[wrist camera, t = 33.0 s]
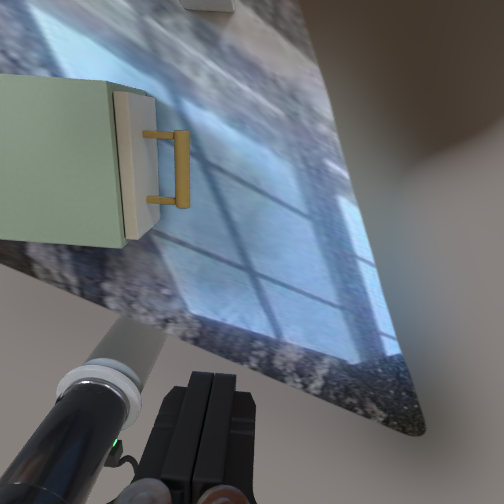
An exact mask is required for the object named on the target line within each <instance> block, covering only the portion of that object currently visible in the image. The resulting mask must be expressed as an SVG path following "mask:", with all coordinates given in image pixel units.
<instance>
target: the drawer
mask: <svg viewBox="0 0 504 504" xmlns="http://www.w3.org/2000/svg"><path fill="white" fill-rule="evenodd" d="M113 98H114V102H113V113H114V124H115V135H116V147H117V158H118V170H119V181H120V193H121V204H122V216H123V222H124V226H125V237H126V239H131V240H139V239H140V238H141V237H142V236H143V235H144V234H145V233H146V232H147V231H148V230H150V229H151V228H152V227H153V226H154V225H155V224H156V223H157V222H158V221H159V220H160V204H168V205H175V204H176V207H177V208H181V209H185V208H189V207H190V132H189V131H182V130H174V132H160V131H157V129H156V105H155V98H153V97H148V96H144V95H139V94H134V93H130V92H121V91H113ZM157 139H170V140H174V159H175V198H172V197H159V176H158V152H157Z"/></svg>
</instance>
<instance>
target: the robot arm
mask: <svg viewBox="0 0 504 504" xmlns="http://www.w3.org/2000/svg"><path fill="white" fill-rule="evenodd" d="M235 390H236V375H235V374H223V373H215V376H214V373H210V372H197V371H193V372H192V374H191V377H190V380H189V383H188V387H179V386H174V388H173V389H172V390H171V391H170V392H169V393H168V394H167V395H166V397H164V400H163V402H162V405H161V407H160V410H159V413H158V415H157V418H156V420H155V423H154V427H153V428H152V431H151V434H150V436H149V439H148V442H147V444H146V447H145V450H144V452H143V455H142V458H141V460H140V463H139V465H138V463H137V461H136V460H135V459H134V458H133V457H132V456H130V455H127V456H124V457H122V458H121V459H120V457H121V455H122V453H123V447H122V440H116V439H117V437H118V435H119V433H120V431H121V429H122V426H123V424H124V423H125V422H126V420H127V418H128V416H129V413H130V402H129V400H128V398H127V396H126V394H125V393H124V392H123V391H122V390H121V389H120V388H119V387H118V386H116V385H115V384H113V383H111V382H109V381H107V380H104V379H100V378H94V377H87V378H81V379H78V380H76V381H74V382H72V383H71V384H70V385H69V386H68V387H67V389H66V390H65V391H64V393H63V395H62V393H61V394H60V395H59V397H58V398H57V401H56V403H55V406H54V407H53V409H52V410H51V411H50V413H49V414H48V415H47V416H46V418H45V419H44V421H43V422H42V423H41V424H40V426H39V427H38V428H37V430H36V431H35V432H34V434H33V435H32V436H31V438H30V439H29V440H28V442H27V443H26V444H25V446H24V447H23V448H22V450H21V451H20V452H19V454H18V455H17V456H16V458H15V459H14V460H13V462H12V463H11V464H10V466H9V467H8V468H7V470H6V471H5V472H4V474H3V475H2V476H1V478H0V504H85V503H86V502H87V500H88V497H89V495H90V493H91V491H92V489H93V487H94V485H95V483H96V481H97V478H98V477H99V474H100V472H101V470H102V468H103V466H105V467H113V468H115V467H119V466H121V465H122V464H123V463H125V462H126V461H127V462H130V463H131V464H132V466H133V468H134V473H135V476H134V478H133V480H132V482H131V483H130V485H128V486H127V487H126V488H125V489H124V490H123V491H122V492H121V493H120V494H119V495H118V497H117V498H115V499H114V500H112V501H111V502H109V503H107V504H257V503H256V501H255V498H254V494H253V462H254V439H255V414H256V405H255V402H254V400H253V398H252V395H251V393H250V392H239V391H235ZM61 395H62V397H61ZM60 397H61V398H60ZM119 459H120V460H119Z"/></svg>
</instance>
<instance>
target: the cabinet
mask: <svg viewBox="0 0 504 504" xmlns="http://www.w3.org/2000/svg"><path fill="white" fill-rule="evenodd" d="M113 91H121V92H130V93H134V94H139V95H144V96H146V91H143V90H140V89H136V88H132V87H128V86H124V85H120V84H116V83H112V82H108V81H99V80H85V79H70V78H55V77H41V76H26V75H11V74H0V239H3V240H16V241H29V242H42V243H54V244H67V245H80V246H93V247H106V248H119V249H122V248H123V247H124V246H125V245H127V244H128V243H129V242H130V241H131V239H126V237H125V226H124V222H123V216H122V204H121V193H120V181H119V170H118V158H117V147H116V135H115V124H114V113H113V102H114V98H113Z"/></svg>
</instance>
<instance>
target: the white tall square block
mask: <svg viewBox="0 0 504 504" xmlns="http://www.w3.org/2000/svg"><path fill="white" fill-rule="evenodd" d="M179 2H180V3H181V4H182V6H183V7H184V8H185V9H191V10H205V11H219V12H233V13H234V12H235V0H179Z"/></svg>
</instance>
